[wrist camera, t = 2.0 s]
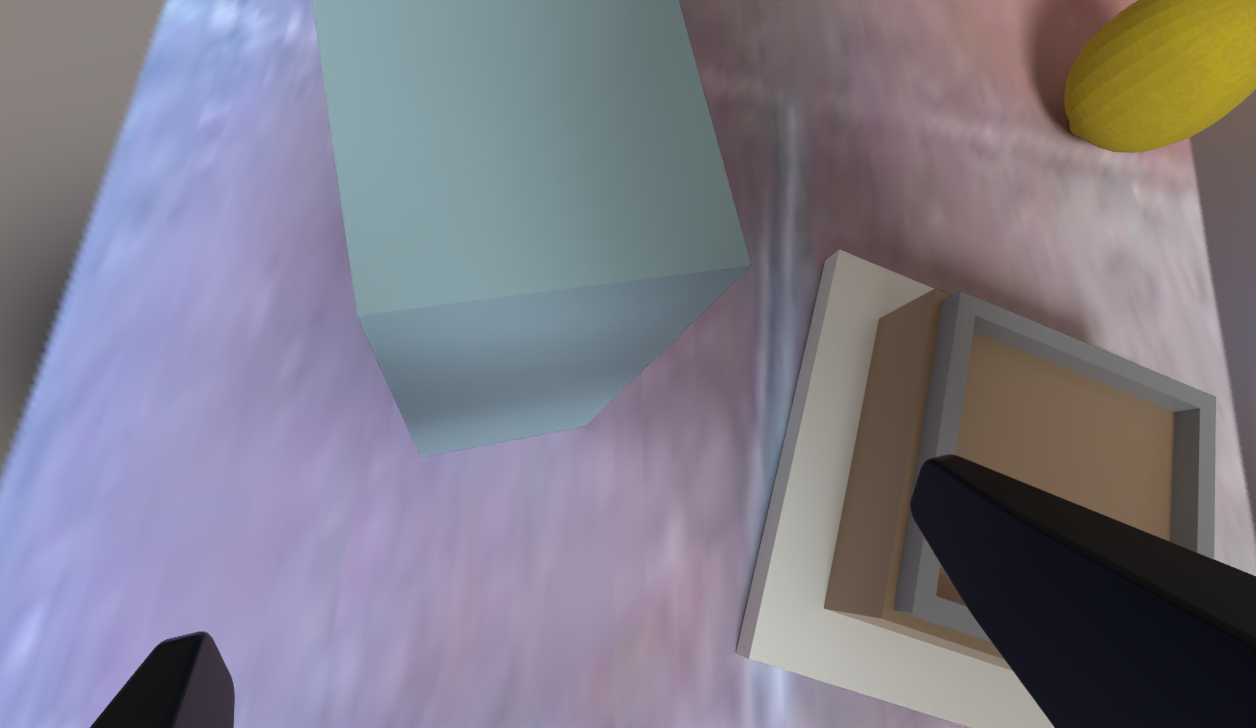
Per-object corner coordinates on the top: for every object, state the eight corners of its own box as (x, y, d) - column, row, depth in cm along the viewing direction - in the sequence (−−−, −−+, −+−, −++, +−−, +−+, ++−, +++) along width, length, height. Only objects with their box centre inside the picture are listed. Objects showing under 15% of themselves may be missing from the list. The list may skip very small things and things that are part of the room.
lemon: (997, 96, 29) (1183, -59, 22) (1079, 62, 31) (1276, -92, 24) (1067, 204, 29) (1283, 82, 21) (1145, 163, 30) (1371, 37, 23)
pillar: (584, 426, 21) (751, 265, 9) (421, 457, 20) (357, 315, 8) (553, 279, 22) (666, -44, 10) (396, 298, 21) (305, -49, 9)
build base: (1116, 772, 22) (1280, 829, 18) (735, 653, 21) (813, 683, 16) (1136, 388, 27) (1272, 356, 22) (825, 260, 25) (905, 197, 20)
